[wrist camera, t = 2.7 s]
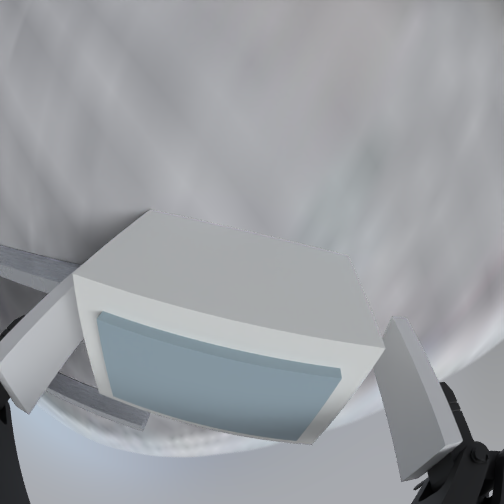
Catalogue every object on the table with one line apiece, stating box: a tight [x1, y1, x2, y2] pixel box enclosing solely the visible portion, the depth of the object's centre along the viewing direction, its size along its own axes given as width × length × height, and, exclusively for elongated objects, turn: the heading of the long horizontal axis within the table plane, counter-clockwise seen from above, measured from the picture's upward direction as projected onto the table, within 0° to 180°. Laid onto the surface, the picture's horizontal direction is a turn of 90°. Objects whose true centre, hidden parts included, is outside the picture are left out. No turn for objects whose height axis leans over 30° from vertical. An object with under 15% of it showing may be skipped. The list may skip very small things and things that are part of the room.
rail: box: [0, 245, 150, 431], centre depth 15 cm, size 13×21×5 cm, turn 83°
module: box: [72, 209, 385, 445], centre depth 11 cm, size 6×9×6 cm, turn 78°
